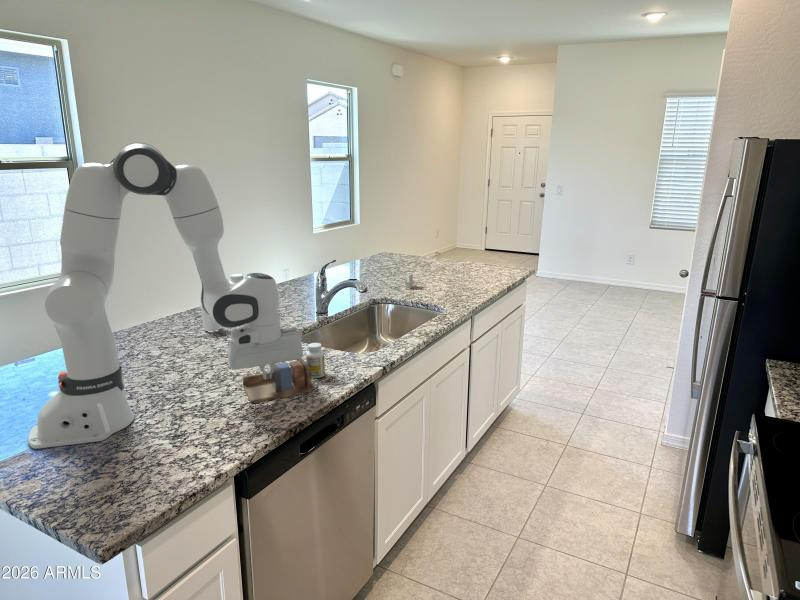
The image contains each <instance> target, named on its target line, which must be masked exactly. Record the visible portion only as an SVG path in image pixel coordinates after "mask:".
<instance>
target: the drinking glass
mask: <svg viewBox="0 0 800 600" xmlns="http://www.w3.org/2000/svg"><path fill="white" fill-rule="evenodd" d="M199 306H200V312H201V318H202V326H203V330H205V331H215V330H218V329H220V330H221V325H219V324H218V323H217V322H216V321H215V320H214V319H213V318H212V317H211V316H210V315H209V314H207V313H206V312H205V310H204V309H203V307H202V304H201V305H199ZM205 331H204V332H205Z"/></svg>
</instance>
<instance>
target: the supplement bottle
mask: <svg viewBox="0 0 800 600" xmlns="http://www.w3.org/2000/svg"><path fill="white" fill-rule="evenodd" d="M307 350H308V351H306V354H305V363H306V364H307V365H308V366H309V368H310V369H311V379H318V378H319V379H320V378H322V377H324V376H325V374H326V369H325V368H326V366H325V352H324V351H323V350H322V344H321V343H320V342H311V343H309V344H308V345H307Z"/></svg>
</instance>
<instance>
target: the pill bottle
mask: <svg viewBox="0 0 800 600" xmlns="http://www.w3.org/2000/svg"><path fill="white" fill-rule="evenodd" d="M229 277H230V278H229V280H230V281H228V282H229V283H230V284H231V285H232V286H233V285H235V284H237V283H238V282H240V281H241V280H242V279H243V278H244V275H243V274H241V273H233V274H230V276H229Z"/></svg>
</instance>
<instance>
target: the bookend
mask: <svg viewBox="0 0 800 600" xmlns="http://www.w3.org/2000/svg"><path fill="white" fill-rule="evenodd" d="M276 364H277V363H275V368H274V369H273V372H272V373H271V374H272V378H271V382H272V386H273V387H274V389H275V391H276V392H278V391H282V386H281V371H280V369H279V368H278V366H277V365H276Z"/></svg>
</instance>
